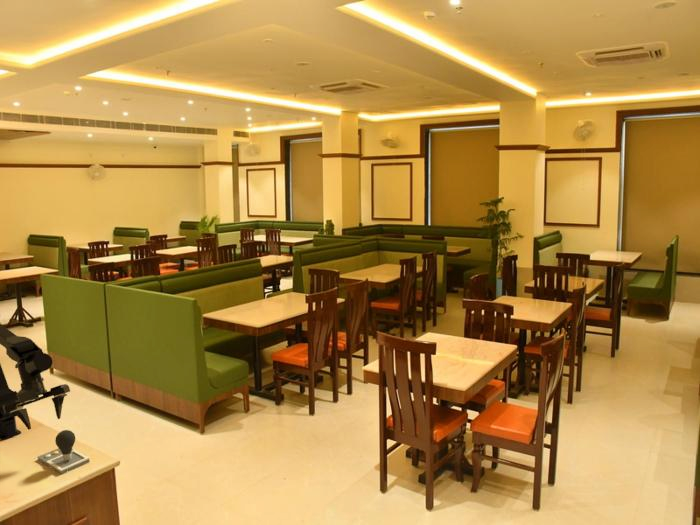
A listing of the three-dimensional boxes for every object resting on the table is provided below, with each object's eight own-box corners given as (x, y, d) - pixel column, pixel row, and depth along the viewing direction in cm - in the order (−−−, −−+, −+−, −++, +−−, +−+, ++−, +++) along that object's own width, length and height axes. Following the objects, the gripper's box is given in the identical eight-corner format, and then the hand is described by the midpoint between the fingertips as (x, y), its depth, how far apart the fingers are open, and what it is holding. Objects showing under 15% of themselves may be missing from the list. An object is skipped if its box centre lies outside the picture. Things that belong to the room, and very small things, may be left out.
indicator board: (37, 459, 184) (37, 455, 184) (65, 448, 191) (65, 444, 191) (61, 474, 175) (60, 470, 175) (89, 461, 182) (89, 457, 182)
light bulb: (69, 465, 178) (66, 435, 176) (53, 464, 179) (50, 434, 177) (81, 456, 183) (78, 427, 182) (65, 455, 185) (62, 426, 183)
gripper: (-12, 389, 177) (2, 438, 175) (50, 368, 180) (64, 416, 178) (5, 387, 188) (19, 433, 186) (63, 367, 191) (77, 412, 189)
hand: (44, 424), depth 184 cm, fingers open, 9 cm apart
